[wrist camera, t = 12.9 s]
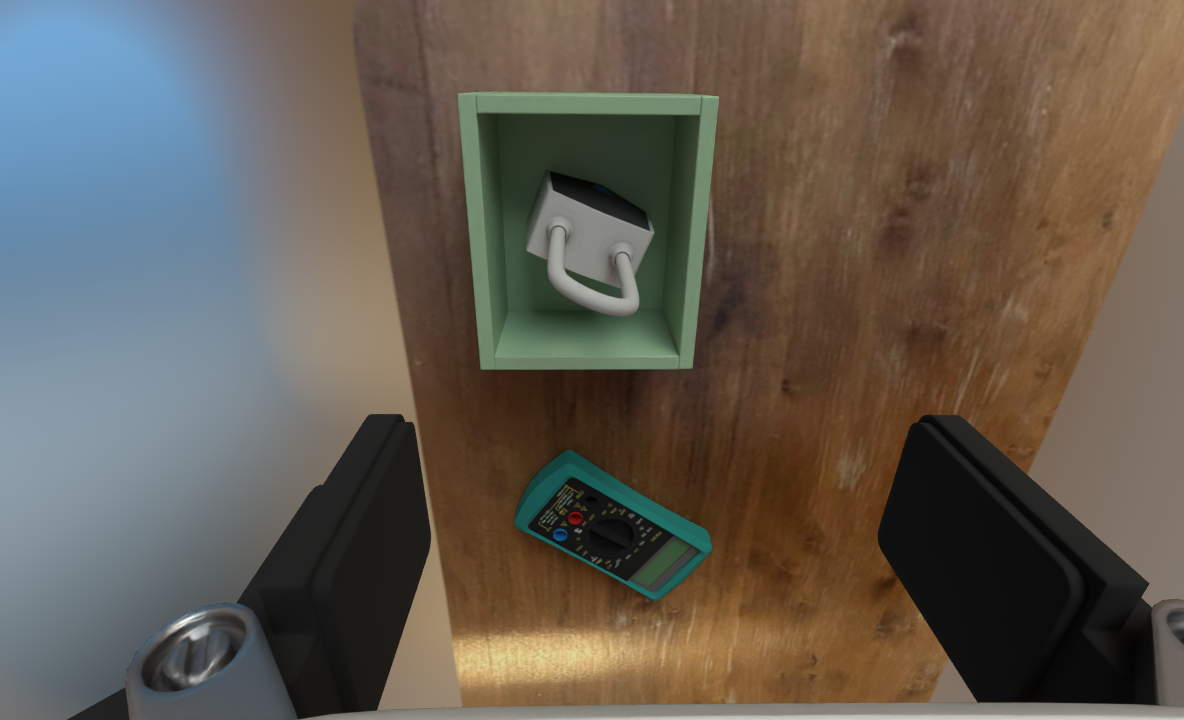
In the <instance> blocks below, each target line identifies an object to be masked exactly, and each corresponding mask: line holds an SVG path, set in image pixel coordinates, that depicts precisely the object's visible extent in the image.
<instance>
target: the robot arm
mask: <svg viewBox="0 0 1184 720" xmlns="http://www.w3.org/2000/svg"><path fill="white" fill-rule="evenodd" d="M878 542H879V546H880V549H881V551H882V553H883V554H884V556H885V557H886V559H887V560H888V562H889V564H890V565H891V567H892V568H893V570H894V571H895V573H896V575H897V576H898V578H899V579H900V581H901V583H902V584H903V586H904V587H905V589H906V590H907V592H908V594H909V595H910V597H911V598H912V600H913V601H914V603H915V605H916V606H917V608H918V609H919V611H920V612H921V614H922V616H923V617H924V619H925V620H926V622H927V623H928V625H929V627H930V628H931V630H932V631H933V633H934V635H935V636H936V638H937V639H938V641H939V642H940V644H941V646H942V647H943V649H944V650H945V652H946V653H947V655H948V657H949V658H950V659H951V661H952V663H953V664H954V666H955V668H956V669H957V671H958V672H959V674H960V675H961V677H962V678H963V680H964V682H965V683H966V685H967V687H968V688H969V690H970V691H971V693H972V694H973V696H974V697H975V699H976V700H977V702H978V703H756V704H643V705H565V706H493V707H460V708H429V709H395V710H378V711H377V709H378V705H379V702H380V699H381V696H382V693H383V690H384V687H385V684H386V681H387V678H388V675H389V672H390V669H391V666H392V663H393V660H394V657H395V654H396V650H397V648H398V645H399V641H400V639H401V636H402V632H403V629H404V626H405V623H406V620H407V617H408V614H409V611H410V608H411V605H412V602H413V599H414V595H415V593H416V590H417V587H418V584H419V580H420V578H421V575H422V572H423V568H424V565H425V563H426V559H427V556H428V553H429V549H430V543H431V531H430V524H429V518H428V511H427V505H426V497H425V491H424V484H423V479H422V471H421V465H420V458H419V451H418V445H417V438H416V432H415V427H414V424H413V423H412V422H405V420H404V417H403V416H402V415H401V414H371V415H369V416H368V417H367V418H366V419H365V421H364V422H363V424H362V425H361V427H360V428H359V430H358V432H357V433H356V435H355V436H354V438H353V440H352V441H351V442H350V444H349V445H348V447H347V449H346V450H345V452H344V453H343V455H342V457H341V458H340V460H339V461H338V463H337V464H336V466H335V467H334V469H333V470H332V472H331V473H330V475H329V476H328V478H327V480H326V481H325V483H324V484H323V485H319V486H316V487H315V488H314V489H313V490H312V491H311V492H310V493H309V495H308V496H307V498H306V499H305V501H304V502H303V504H302V505H301V507H300V508H299V510H298V511H297V513H296V514H295V516H294V517H293V519H292V520H291V522H290V523H289V525H288V526H287V528H286V529H285V531H284V532H283V534H282V535H281V537H280V538H279V540H278V542H277V543H276V544H275V546H274V547H273V549H272V550H271V552H270V553H269V555H268V557H267V558H266V559H265V561H264V562H263V564H262V565H261V567H260V568H259V570H258V571H257V573H256V575H255V576H254V577H253V579H252V581H251V582H250V583H249V585H248V586H247V588H246V589H245V591H244V592H243V594H242V595H241V597H240V599H239V600H238V601H237V603H219V604H213V605H207V606H204V607H201V608H199V609H196V610H193V611H190V612H187V613H185V614H184V615H181V616H180V617H178V618H176V619H174V620H173V621H171V622H169V623H167V624H166V625H165V626H163V627H162V628H161V629H160V630H158V631H157V632H156V633H154V634H153V635H152V636H151V637H149V638H148V640H147V641H146V642H145V643H144V644H143V645H142V646H141V648H140V649H139V650H138V651H137V652H136V653H135V655H134V657H133V659H132V661H131V663H130V665H129V667H128V668H127V673H126V681H125V688H123V689H121V690H120V691H118V692H116V693H114V694H112V695H111V696H109V697H107V698H105V699H104V700H102V701H100V702H98V703H96V704H94V705H93V706H91V707H89V708H87V709H86V710H84V711H82V712H80V713H78V714H77V715H75V716H73V717H71V718H69V719H68V720H1184V600H1181V599H1170V600H1162V601H1160V602H1159V603H1157V604H1155V605H1154V606H1153V608H1152V607H1151V606H1150V605H1149V604H1147V603H1146V602H1145V601H1144V600H1143V599H1142V598H1141V597H1142V595H1143V593H1144V592H1145V590H1146V589H1147V587H1148V585H1149V583H1148V582H1147V581H1146V580H1145V579H1144V578H1143V577H1141V576H1140V575H1139V574H1138V573H1137V572H1136V571H1135V570H1134V569H1132V568H1131V567H1130V566H1129V565H1128V564H1127V563H1126V562H1125V561H1123V560H1122V559H1121V558H1120V557H1119V556H1118V555H1117V554H1116V553H1114V552H1113V551H1112V550H1111V549H1110V548H1109V547H1108V546H1107V545H1105V544H1104V543H1103V542H1102V541H1101V540H1100V539H1099V538H1098V537H1096V536H1095V535H1094V534H1093V533H1092V532H1091V531H1090V530H1089V529H1087V528H1086V527H1085V526H1084V525H1083V524H1082V523H1081V522H1079V521H1078V520H1077V519H1076V518H1075V517H1074V516H1073V515H1072V514H1070V513H1069V512H1068V511H1067V510H1066V509H1065V508H1064V507H1063V506H1061V505H1060V504H1059V503H1058V502H1057V501H1056V500H1055V499H1054V498H1052V497H1051V496H1050V495H1049V494H1048V493H1047V492H1046V491H1045V490H1043V489H1042V488H1041V487H1040V486H1039V485H1038V484H1037V483H1036V482H1034V481H1033V480H1032V479H1031V478H1030V477H1029V476H1028V475H1027V474H1025V473H1024V472H1023V471H1022V470H1021V469H1020V468H1019V467H1018V466H1016V465H1015V464H1014V463H1013V462H1012V461H1011V460H1010V459H1008V458H1007V457H1006V456H1005V455H1004V454H1003V453H1002V452H1001V451H999V450H998V449H997V448H996V447H995V446H994V445H993V444H992V443H990V442H989V441H988V440H987V439H986V438H985V437H984V436H983V435H981V434H980V433H979V432H978V431H977V430H976V429H975V428H974V427H972V426H971V425H970V424H969V423H968V422H967V421H966V420H965V419H963V418H962V417H960V416H958V415H925V416H923V417H921V419H920V420H919V421H918V423H914V424H912V425H911V427H910V429H909V432H908V435H907V438H906V441H905V445H904V448H903V451H902V455H901V458H900V461H899V464H898V468H897V471H896V474H895V478H894V481H893V484H892V487H891V491H890V494H889V497H888V500H887V504H886V507H885V510H884V514H883V517H882V520H881V523H880V527H879V530H878Z"/></svg>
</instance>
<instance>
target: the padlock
mask: <svg viewBox="0 0 1184 720" xmlns="http://www.w3.org/2000/svg"><path fill="white" fill-rule="evenodd" d="M653 236H654V230H653V226H652V222H651V218H650V214H649V213H646V212H645V211H643V210H642V209H640V208H639V207H637V206H635V205H634V204H632V203H631V202H629V201H627V200H626V199H624V198H622V197H621V196H619V195H618V194H616V193H614V192H613V191H611V190H610V189H608V188H606V187H605V186H603V185H601V184H598V183H594V182H590V181H586V180H582V179H579V178H575V177H571V176H567V175H563V174H560V173H556V172H552V171H548V170H545V173H544V175H543V178H542V181H541V184H540V186H539V189H538V192H537V195H536V197H535V200H534V203H533V206H532V208H531V211H530V214H529V216H528V219H527V222H526V250H527V251H528V252H530V253H532V254H534V255H537V256H539V257H541V258H543V259H546V260H548V263H547V270H548V277H549V280H550V282H551V284H552V285H553V286H554V287H555V288H556V289H557V290H558V291H559V292H560V293H562V294H563V295H564V296H566V297H567V298H569V299H571V300H572V301H574V302H576V303H578V304H580V305H582V306H584V307H587V308H589V309H592V310H594V311H597V312H600V313H603V314H607V315H612V316H619V317H626V316H630V315H633V314H634V313H635V312H636V311H637V309H638V307H639V294H638V290H637V286H636V282H635V278H634V276H635V274H636V272H637V270H638V268H639V266H640V263H641V261H642V259H643V257H644V255H645V253H646V251H647V248H648V246H649V244H650V242H651V240H652V238H653ZM564 268H566V269H568V270H571V271H573V272H575V273H578V274H580V275H583V276H586V277H589V278H592V279H594V280H597V281H600V282H603V283H606V284H609V285H612V286H615V287H618V288H620V289H621V292H622V299H620V298H615V297H611V296H607V295H604V294H601V293H599V292H596V291H594V290H592V289H589V288H587V287H585V286H584V285H582V284H580V283H578V282H577V281H575V280H573V279H572V278H571V277H569V276H568V275H567V274H566V272H565V269H564Z"/></svg>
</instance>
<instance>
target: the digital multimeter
mask: <svg viewBox="0 0 1184 720" xmlns="http://www.w3.org/2000/svg"><path fill="white" fill-rule="evenodd" d="M514 525H515V527H516V528H517V529H519V530H521V531H523V532H525V533H527V534H529V535H532V536H534V537H536V538H538V539H540V540H542V541H544V542H546V543H549V544H551V545H552V546H554V547H556V548H558V549H560V550H562V551H564V552H566V553H568V554H570V555H572V556H574V557H576V558H578V559H580V560H582V561H584V562H585V563H587V564H589V565H591V566H593V567H595V568H597V569H598V570H600V571H602V572H604V573H606V574H608V575H610V576H611V577H613V578H615V579H617V580H619V581H620V582H622V583H624V584H625V585H627V586H629V587H630V588H632V589H634V590H635V591H637V592H639V593H640V594H642V595H644V596H646V597H647V598H649V599H651V600H653V601H657V600H659V599H661V598H662V597H663V596H665V595H666V594H667V593H669V592H670V591H671V590H673V589H674V588H675V587H676V586H678V585H679V584H680V583H681V582H682V581H683V580H685V579H686V578H687V577H688V576H689V575H690V574H691V573H692V572H693V571H694V570H695V569H696V568H697V567H698V566H699V565H700V564H701V563H702V561H703V560H704V559H705V558H706V557H707V556H708V555H709V553H710V552H711V551H712V544H711V541H710V538H709V534H708V531H707V530H705V529H704V528H702V527H700V526H698V525H696V524H694V523H692V522H690V521H688V520H686V519H684V518H683V517H681V516H679V515H677V514H675V513H673V512H671V511H669V510H667V509H666V508H664V507H662V506H660V505H659V504H657V503H655V502H653V501H652V500H650V499H648V498H646V497H645V496H643V495H641V494H639V493H638V492H636V491H634V490H633V489H631V488H629V487H628V486H626V485H625V484H623V483H622V482H620V481H618V480H617V479H615V478H614V477H612V476H611V475H609V474H607V473H606V472H604V471H603V470H601V469H600V468H598V467H597V466H595V465H594V464H592V463H591V462H589V461H588V460H586V459H585V458H583V457H582V456H580V455H579V454H577V453H576V452H574V451H572V450H566V451H565V452H563V453H562V454H561V455H559V456H558V457H556V458H555V459H554V460H552V461H551V462H550V463H548V464H547V465H546V466H545V467H544V468H542V469H541V470H540V471H539V472H538V473H537V474H536V476H535V477H534V478H533V479H532V480H531V482H530V483H529V485H528V486H527V488H526V490H525V491H524V493H523V495H522V497H521V500H520V502H519V504H518V506H517V508H516V514H515V521H514Z"/></svg>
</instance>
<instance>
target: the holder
mask: <svg viewBox="0 0 1184 720" xmlns="http://www.w3.org/2000/svg"><path fill="white" fill-rule="evenodd" d="M457 98H458V110H459V122H460V134H461V145H462V157H463V169H464V180H465V192H466V204H467V216H468V227H469V239H470V251H471V263H472V274H473V286H474V298H475V309H476V321H477V333H478V345H479V356H480V368H481V370H495V369H496V370H573V369H678V368H679V369H692V367H693V358H694V348H695V338H696V327H697V317H698V307H699V297H700V287H701V277H702V266H703V256H704V246H705V236H706V226H707V215H708V205H709V195H710V185H711V175H712V164H713V154H714V144H715V134H716V124H717V114H718V103H719V97H717V96H707V95H695V94H654V93H561V92H473V93H459V94H457ZM545 170H548V171H552V172H556V173H560V174H563V175H567V176H571V177H575V178H579V179H582V180H586V181H590V182H594V183H598V184H601V185H603V186H605V187H606V188H608V189H610V190H611V191H613V192H614V193H616V194H618V195H619V196H621V197H622V198H624V199H626V200H627V201H629V202H631V203H632V204H634V205H635V206H637V207H639V208H640V209H642V210H643V211H645V212H646V213H649V214H650V218H651V222H652V226H653V230H654V236H653V238H652V240H651V242H650V244H649V246H648V248H647V251H646V253H645V255H644V257H643V259H642V261H641V263H640V266H639V268H638V270H637V272H636V274H635V276H634V278H635V282H636V286H637V290H638V294H639V307H638V309H637V311H636V312H635V313H634V314H633V315H630V316H626V317H619V316H612V315H607V314H603V313H600V312H597V311H594V310H592V309H589V308H587V307H584V306H582V305H580V304H578V303H576V302H574V301H572V300H571V299H569V298H567V297H566V296H564V295H563V294H562V293H560V292H559V291H558V290H557V289H556V288H555V287H554V286H553V285H552V284H551V282H550V280H549V277H548V270H547V263H548V260H546V259H543V258H541V257H539V256H537V255H534V254H532V253H530V252H528V251H527V250H526V222H527V219H528V216H529V214H530V211H531V208H532V206H533V203H534V200H535V197H536V195H537V192H538V189H539V186H540V184H541V181H542V178H543V175H544V173H545ZM564 269H565V272H566V274H567V275H568V276H569V277H571V278H572V279H573V280H575V281H577V282H578V283H580V284H582V285H584V286H585V287H587V288H589V289H592V290H594V291H596V292H599V293H601V294H604V295H607V296H611V297H615V298H620V299H622V292H621V289H620V288H618V287H615V286H612V285H609V284H606V283H603V282H600V281H597V280H594V279H592V278H589V277H586V276H583V275H580V274H578V273H575V272H573V271H571V270H568V269H566V268H564Z"/></svg>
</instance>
